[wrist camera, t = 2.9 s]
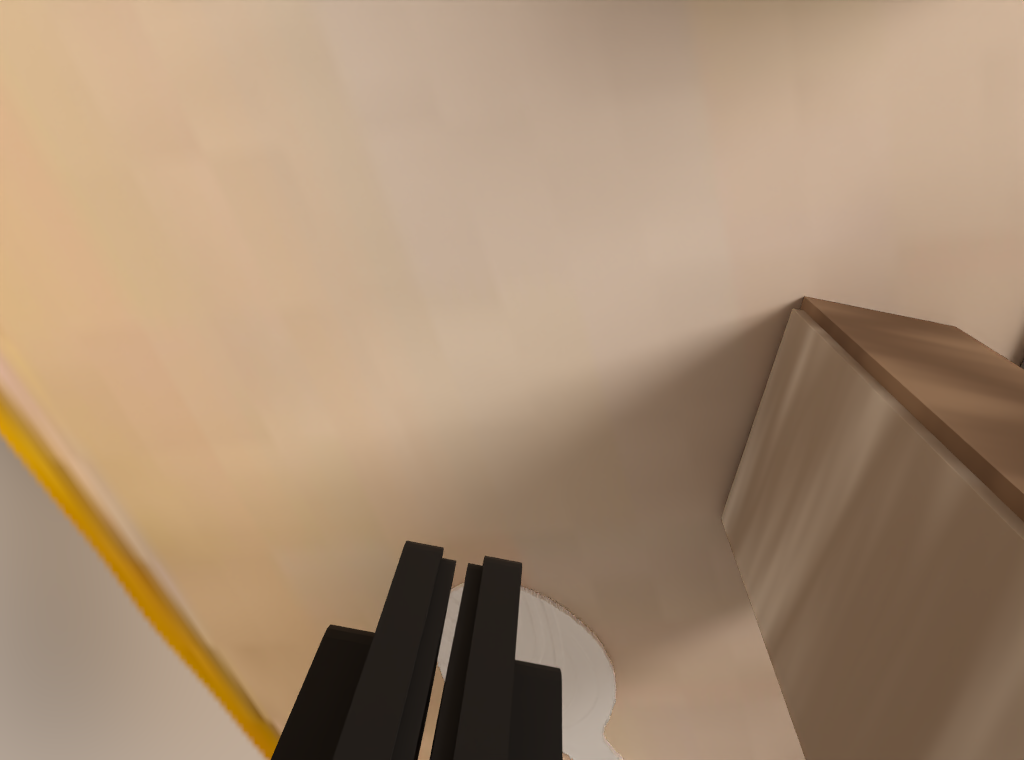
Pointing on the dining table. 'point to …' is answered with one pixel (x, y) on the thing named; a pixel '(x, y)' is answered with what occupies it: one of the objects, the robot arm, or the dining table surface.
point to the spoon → (563, 645)
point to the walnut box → (888, 537)
